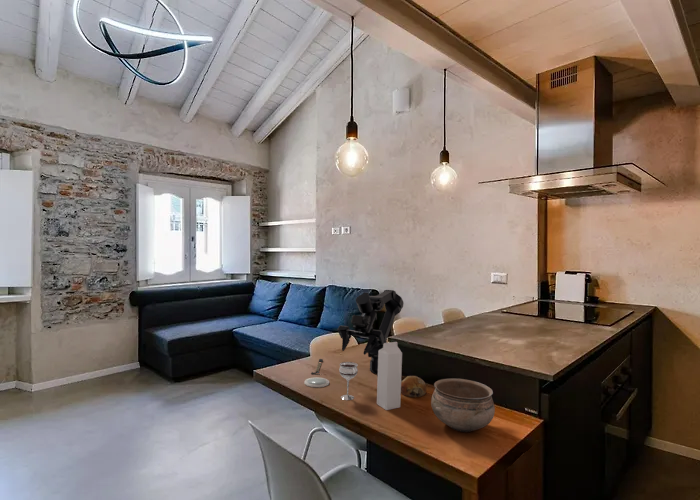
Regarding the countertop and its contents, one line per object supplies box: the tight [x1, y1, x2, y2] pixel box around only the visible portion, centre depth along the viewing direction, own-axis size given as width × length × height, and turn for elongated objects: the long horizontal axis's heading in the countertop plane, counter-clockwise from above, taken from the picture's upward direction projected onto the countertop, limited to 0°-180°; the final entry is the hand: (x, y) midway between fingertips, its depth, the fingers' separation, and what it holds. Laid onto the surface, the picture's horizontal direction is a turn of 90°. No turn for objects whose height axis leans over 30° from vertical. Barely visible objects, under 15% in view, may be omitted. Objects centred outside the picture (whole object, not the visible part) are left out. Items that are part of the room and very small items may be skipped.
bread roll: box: [401, 375, 427, 398], centre depth 148 cm, size 10×10×8 cm
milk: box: [376, 341, 403, 411], centre depth 135 cm, size 6×6×22 cm
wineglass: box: [338, 361, 359, 401], centre depth 141 cm, size 7×7×12 cm
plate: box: [304, 376, 330, 388], centre depth 155 cm, size 10×10×1 cm
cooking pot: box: [430, 378, 496, 433], centre depth 120 cm, size 25×19×12 cm
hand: (353, 352), depth 149 cm, fingers open, 9 cm apart
